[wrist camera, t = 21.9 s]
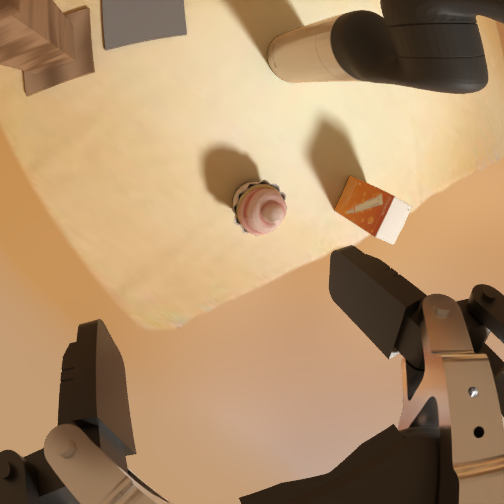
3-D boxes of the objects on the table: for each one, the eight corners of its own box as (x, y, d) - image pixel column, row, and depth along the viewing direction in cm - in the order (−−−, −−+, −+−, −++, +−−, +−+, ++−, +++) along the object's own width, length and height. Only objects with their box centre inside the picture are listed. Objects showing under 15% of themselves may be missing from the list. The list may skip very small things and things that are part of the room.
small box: (348, 174, 56) (395, 195, 45) (368, 185, 59) (413, 206, 48) (332, 210, 58) (375, 237, 47) (353, 219, 61) (394, 245, 50)
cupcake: (212, 209, 49) (230, 233, 41) (244, 163, 47) (269, 177, 39) (254, 233, 54) (278, 259, 46) (284, 191, 52) (314, 210, 44)
